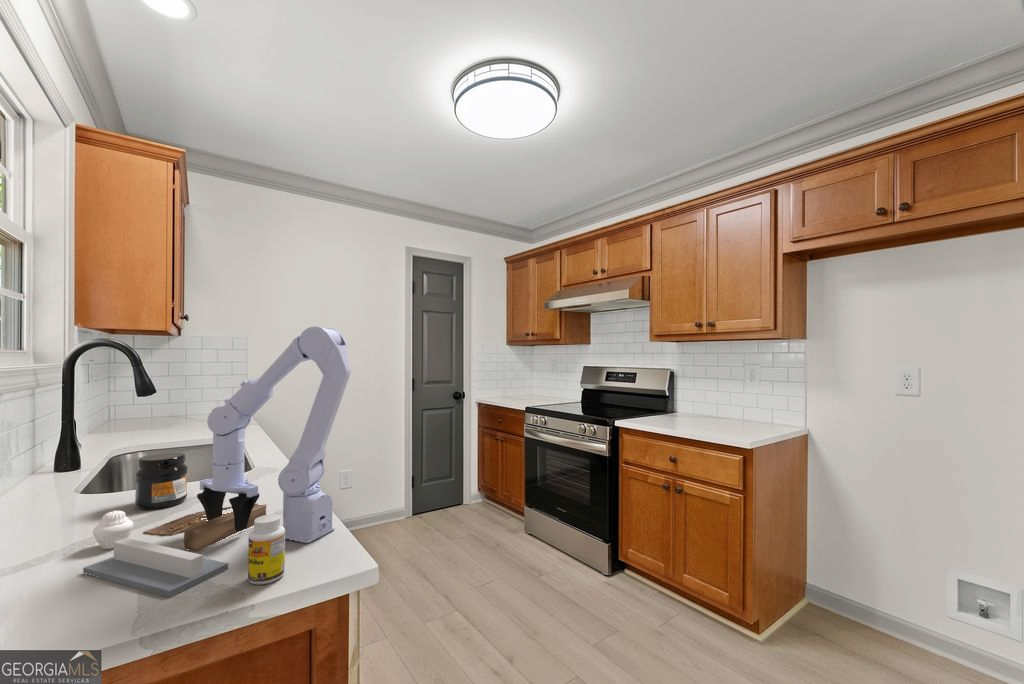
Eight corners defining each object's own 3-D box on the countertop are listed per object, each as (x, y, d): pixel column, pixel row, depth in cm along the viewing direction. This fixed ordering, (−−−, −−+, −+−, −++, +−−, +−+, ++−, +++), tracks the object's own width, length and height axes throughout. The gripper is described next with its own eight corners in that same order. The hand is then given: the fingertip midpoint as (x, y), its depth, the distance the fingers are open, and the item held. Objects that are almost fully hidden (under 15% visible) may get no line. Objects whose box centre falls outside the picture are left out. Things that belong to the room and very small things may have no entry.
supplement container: (190, 504, 115) (190, 456, 116) (136, 514, 108) (136, 463, 109) (184, 494, 123) (184, 449, 123) (133, 503, 116) (134, 455, 116)
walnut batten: (265, 523, 104) (266, 505, 104) (196, 553, 89) (196, 532, 89) (254, 521, 105) (254, 503, 105) (183, 550, 90) (184, 529, 90)
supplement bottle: (240, 581, 78) (241, 520, 78) (271, 567, 83) (272, 510, 83) (260, 589, 75) (261, 526, 75) (291, 575, 80) (292, 515, 80)
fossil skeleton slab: (148, 542, 93) (148, 537, 93) (137, 528, 101) (138, 524, 101) (280, 510, 113) (280, 506, 113) (263, 500, 120) (263, 496, 120)
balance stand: (228, 569, 82) (228, 546, 82) (169, 597, 73) (170, 571, 73) (145, 549, 89) (146, 529, 89) (83, 573, 80) (83, 550, 80)
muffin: (134, 546, 91) (135, 510, 91) (92, 555, 87) (93, 518, 87) (131, 536, 96) (132, 503, 96) (92, 545, 91) (92, 510, 91)
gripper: (270, 460, 99) (269, 524, 98) (221, 455, 103) (220, 515, 103) (241, 468, 92) (240, 537, 92) (190, 462, 97) (189, 527, 97)
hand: (227, 526), depth 97 cm, fingers open, 7 cm apart
